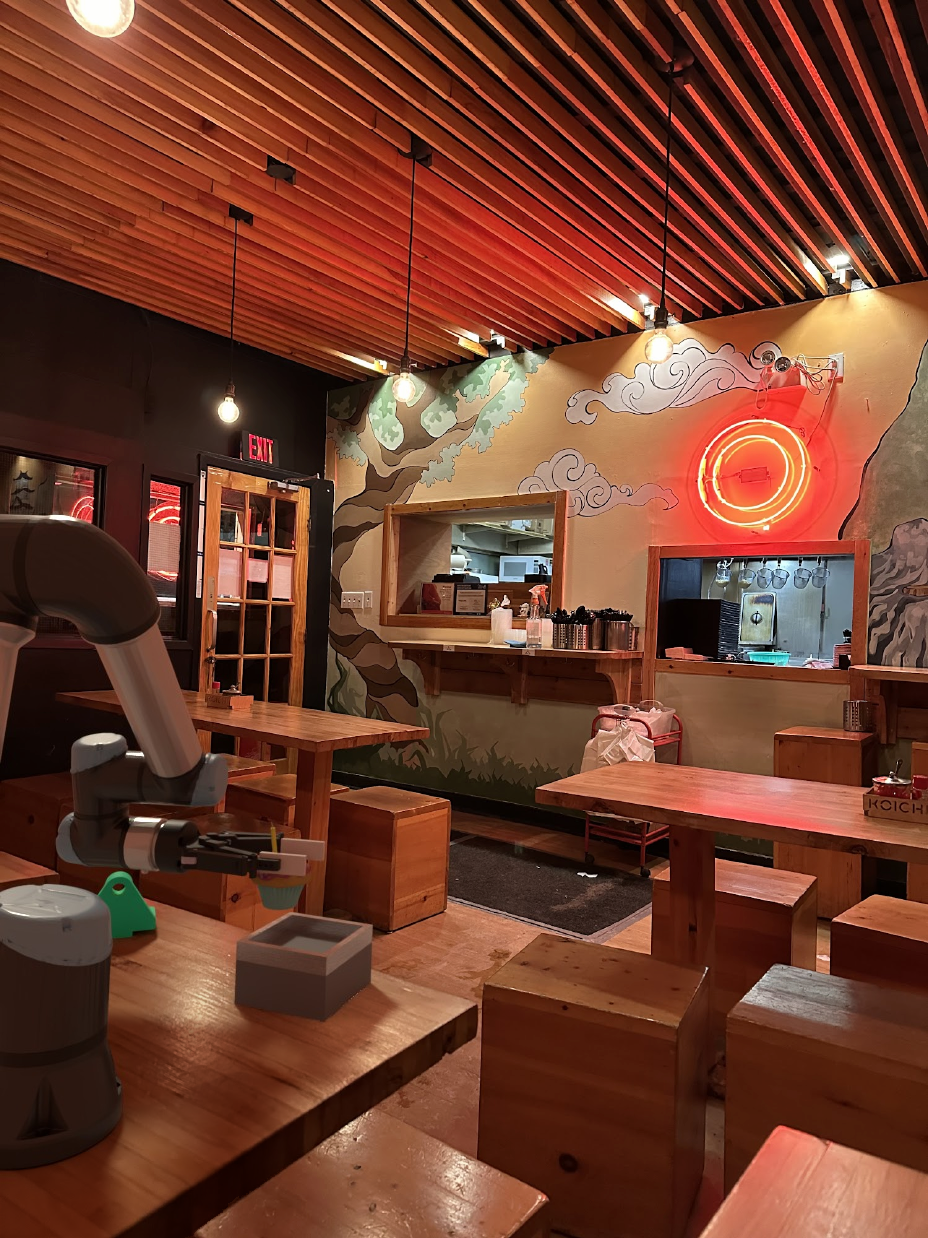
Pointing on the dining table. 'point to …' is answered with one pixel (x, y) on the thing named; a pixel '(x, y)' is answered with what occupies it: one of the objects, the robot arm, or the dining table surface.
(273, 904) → the cupcake
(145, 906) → the camera mount
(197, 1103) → the dining table surface
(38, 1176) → the dining table surface
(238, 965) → the gray open box
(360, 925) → the collar
